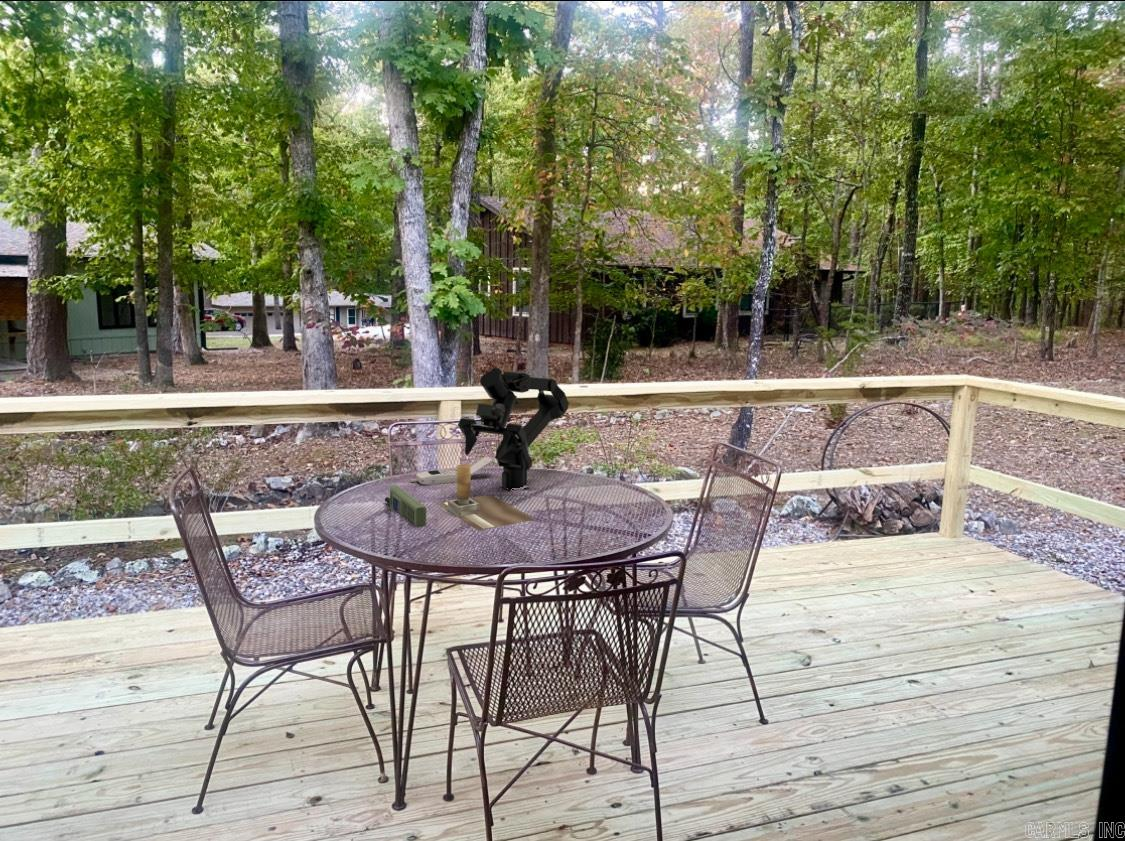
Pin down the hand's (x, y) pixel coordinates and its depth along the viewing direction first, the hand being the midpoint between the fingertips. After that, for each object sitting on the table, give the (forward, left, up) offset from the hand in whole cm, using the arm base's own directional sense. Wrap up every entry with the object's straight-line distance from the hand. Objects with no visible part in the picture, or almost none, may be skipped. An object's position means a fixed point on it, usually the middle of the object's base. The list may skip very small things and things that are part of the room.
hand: (481, 456), depth 195 cm
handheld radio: (+21, -2, -14) cm, 26 cm away
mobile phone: (-4, -26, -14) cm, 29 cm away
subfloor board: (+3, +9, -14) cm, 16 cm away
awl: (+8, +6, -12) cm, 16 cm away
